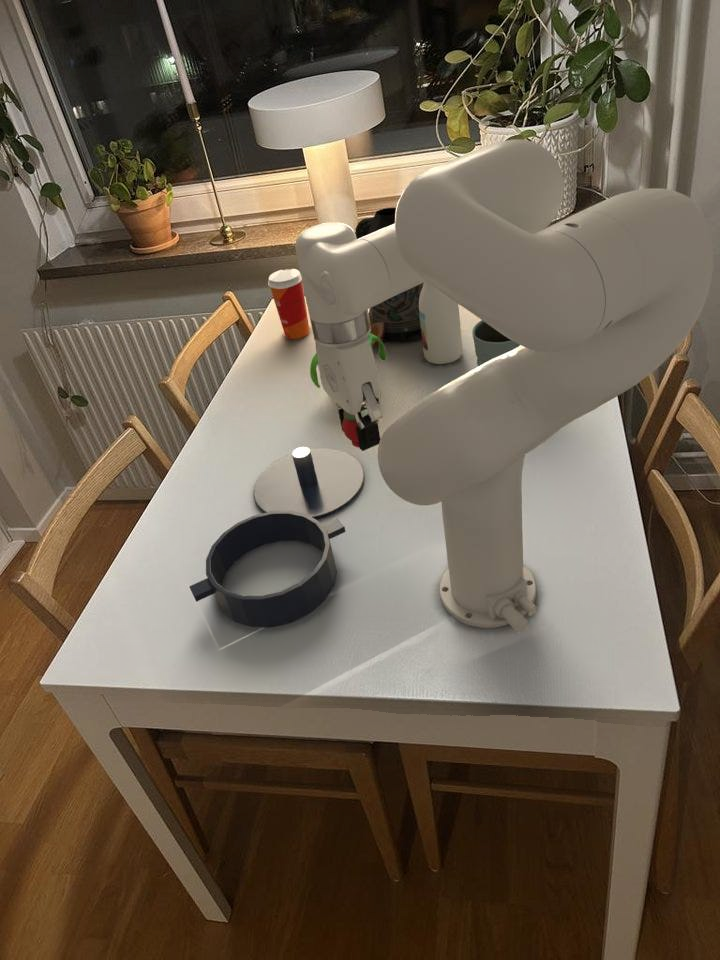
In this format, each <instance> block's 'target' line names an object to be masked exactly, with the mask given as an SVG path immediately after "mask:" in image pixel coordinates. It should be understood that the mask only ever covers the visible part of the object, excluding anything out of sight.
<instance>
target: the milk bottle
mask: <svg viewBox="0 0 720 960" xmlns="http://www.w3.org/2000/svg"><path fill="white" fill-rule="evenodd" d="M459 306H460V305H459V304H458V303H457V302H455V301H454V300H452V299H451V298H449V297H448V296H446V295H445V294H444V293H442V292H441V291H440V290H438V289H437V288H436V287H434V286H433V285H432V284H430V283H429V282H428V281H425V282H424V284H423V288H422V290H421V293H420V297H419V315H420V325H421V334H422V339H421V342H422V350H423V351H422V352H423V356H424V359H425V360H426V361H427V362H429V363H431V364H433V365H434V364H435V365H446V364H449V363H453V362H455V361H457V360H458V359H460V358H461V356H462V354H463V343H462V342H463V341H462V331H461V329H462V328H461V317H460V307H459Z"/></svg>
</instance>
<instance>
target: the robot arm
mask: <svg viewBox="0 0 720 960" xmlns="http://www.w3.org/2000/svg"><path fill="white" fill-rule="evenodd" d="M564 179H565V178H564V173H563V171H562V168H561V166H560V164H559V162H558V160H557V159H556V158H555V156H554V155H553V153H551V152H550V151H549V150H548V149H547V148H546V147H544V146H543V145H542V144H538V143H537V142H534V141H530V140H526V139H508V140H502V141H497V142H493V143H491V144H488V145H486V146H483V147H480V148H478V149H476V150H473V151H471V152H469V153H466V154H464V155H461V156H459V157H456V158H454V159H452V160H449V161H447V162H444V163H442V164H441V163H440V164H439V165H437V166H434V167H431V168H429V169H426V170H425V171H423V172H422V173H420V174H418V175H416V177H414V178H413V179H412V180H411V181H410V182H409V183H408V184H407V186H406V187H405V188H404V189H403V191H402V192H401V195H400V197H399V199H398V201H397V205H396V207H395V208H396V213H395V224H393V225H390V226H388V227H385V228H383V229H380V230H378V231H376V232H373V233H371V234H369V235H367V236H364V237H362V238H360V239H357V238H356V235H355V232H356V231H354V229H353V228H352V227H351V226H349V225H348V224H346V223H343V222H323V223H318V224H315V225H312V226H310V227H307V228H305V229H304V230H302V231H301V232H300V233H299V234H298V235H297V237H296V240H295V245H294V246H295V247H294V248H295V254H296V255H295V256H296V259H297V264H298V268H299V272H300V274H301V278H302V285H303V291H304V298H305V303H306V308H307V311H308V316H309V320H310V326H311V331H312V335H313V340H314V342H315V351H316V353H317V359H318V365H317V367H318V370H319V376H320V383H321V386H322V389H323V390H324V392H325V393H326V395H328V396H329V397H330V398H331V400H333V401H334V402H335V405H336V407H337V412H338V417H339V422H340V427H341V431H342V432H343V428H342V424H343V420H344V415H343V412H344V410H345V411H346V412H347V413H349V414H351V415H354V414H355V417H356V421H357V424H358V426H356V433H357V438H358V443H359V448H358V449H359V450H360V451H362V452H364V451H367V450H369V449H371V448H373V447H375V446H378V447H377V464H378V469H379V472H380V475H381V476H382V479H383V480H384V483H385V484H386V485H387V487H388V488H389V489H390V490H391V491H392V493H394V495H396V496H397V497H399V498H400V499H402V500H403V501H404V502H407V503H410V504H411V505H417V506H422V507H423V506H433V505H436V504H438V503H441V514H442V522H443V531H444V539H445V540H444V541H445V549H446V558H447V566H448V568H447V569H446V570H445V571H444V573H443V575H442V576H441V578H440V582H439V599H440V601H441V603H442V607H444V609H445V610H446V611H447V613H449V615H450V616H451V617H452V618H454V619H455V620H457V621H458V622H460V623H463V624H465V625H467V626H471V627H475V628H482V629H483V628H484V629H491V628H493V629H494V628H501V627H504V626H508V625H510V627H512V629H513V630H514V631H515V632H516V633H517V634H520V633H523V632H525V631H526V630H527V629H528V627H529V626H530V621H529V620H528V619H527V618H526V617H525V615H528V616H530V617H531V616H534V615H535V614H536V613H537V612H538V606H536V605H535V604H534V603H535V600H536V597H537V583H536V581H535V576H534V575H533V573H532V571H531V570H529V569H530V568H528V567H527V566H526V565H525V564H524V541H523V540H524V536H523V469H524V468H523V467H524V463H525V457H526V455H527V454H529V453H531V452H532V451H534V450H535V449H536V448H537V447H539V446H541V445H542V444H544V443H545V442H546V441H547V440H549V439H550V438H551V437H553V435H555V434H556V433H557V432H558V431H560V430H561V429H563V428H564V427H566V426H567V425H569V424H570V423H572V422H574V421H575V420H578V419H579V418H581V417H583V416H585V415H588V414H589V413H591V412H593V411H595V410H596V409H598V408H599V407H601V406H603V405H605V404H606V403H608V402H610V401H612V400H613V399H615V398H617V397H618V396H620V395H622V394H623V393H625V392H627V391H629V390H630V389H632V388H633V387H635V386H636V385H638V384H639V383H641V382H642V381H644V380H645V379H646V378H648V376H651V374H652V373H654V372H655V371H656V370H657V369H658V368H659V367H660V366H662V365H663V364H664V363H665V362H666V361H667V360H668V359H669V358H670V357H671V356H672V354H674V352H676V350H677V349H678V348H679V347H680V346H681V344H682V343H683V342H684V341H685V339H686V338H687V337H688V336H689V334H690V332H691V331H692V330H693V328H694V326H695V324H696V322H697V321H698V319H699V317H700V315H701V313H702V311H703V309H704V306H705V304H706V301H707V299H708V296H709V291H710V288H711V285H712V280H713V279H712V278H713V274H714V273H713V272H714V242H713V236H712V233H711V228H710V224H709V222H708V220H707V217H706V216H705V213H704V212H703V210H702V209H701V207H700V206H699V205H698V204H697V203H696V202H695V201H694V200H693V199H692V198H691V197H689V196H688V195H685V194H683V193H681V192H678V191H676V190H672V189H669V188H668V189H667V188H663V187H662V188H659V187H658V188H657V187H656V188H655V187H654V188H652V187H651V188H649V187H648V188H641V189H636V190H630V191H626V192H622V193H619V194H617V195H614V196H611V197H608V198H607V199H604V200H602V201H600V202H598V203H595V204H594V205H591V206H589V207H587V208H584V209H583V210H581V211H578V212H576V213H574V214H572V215H569V216H568V217H566V218H564V219H562V220H559V221H557V222H556V223H553V224H551V223H552V222H553V221H554V220H555V218H556V217H557V214H558V213H559V210H560V209H561V205H562V202H563V200H564V192H565V180H564ZM425 281H428V282H429V283H430V284H432V285H433V286H434V287H436V288H437V289H438V290H440V291H441V292H442V293H444V294H445V295H446V296H448V297H449V298H451V299H452V300H454V301H455V302H457V303H458V306H461V307H463V309H466V310H467V311H468V312H470V313H471V314H473V315H474V316H476V317H477V318H478V319H480V321H481V320H483V321H484V322H485V323H487V324H488V325H490V326H491V327H493V328H494V329H495V330H497V331H498V332H500V333H501V334H503V335H504V336H506V337H507V338H509V339H510V340H512V341H514V342H516V343H517V344H519V345H520V346H519V347H517V348H515V349H513V350H511V351H509V352H507V353H505V354H502V355H500V356H498V357H496V358H493V359H491V360H489V361H487V362H486V363H484V364H482V365H480V366H478V365H477V366H476V367H475V368H473V369H471V370H469V371H468V372H465V373H464V374H462V375H460V376H458V377H456V378H455V379H453V380H452V381H450V382H448V383H445V384H444V385H443V386H441V387H439V388H438V389H436V390H435V391H433V392H431V393H430V394H428V395H427V396H425V397H424V398H423V399H421V400H420V401H419V402H417V404H415V405H414V406H413V407H412V408H410V409H409V410H407V411H406V412H405V413H403V414H402V415H401V416H400V417H399V418H398V419H396V420H395V421H394V422H392V423H391V424H390V425H389V426H388V427H387V428H386V429H385V430H384V432H383V433H382V434H380V428H379V421H380V420H381V419H383V413H382V411H381V409H380V406H379V405H380V403H381V401H382V395H381V394H382V393H381V392H382V391H381V385H380V379H379V374H378V370H377V364H376V361H375V356H374V353H373V348H371V344H370V341H369V337H368V335H369V334H370V332H371V326H370V320H369V314H368V313H369V309H370V308H371V307H373V306H376V305H378V304H380V303H382V302H384V301H385V300H387V299H390V298H392V297H394V296H396V295H398V294H400V293H402V292H404V291H406V290H408V289H411V288H413V287H415V286H417V285H419V284H421V283H423V282H425ZM365 409H368V414H367V415H365V416H364V417H363V418H362V415H361V411H363V410H365Z"/></svg>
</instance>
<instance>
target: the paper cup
mask: <svg viewBox="0 0 720 960" xmlns="http://www.w3.org/2000/svg"><path fill="white" fill-rule="evenodd" d="M267 286H268V287H269V288H270V291H271V294H272V298H273V301H274V304H275V308H276V312H277V314H278V317H279V321H280V323H281V328H282V329H283V333H284V336H285V338H286V339H288V340H298V339H303V338H305V337H307V336H308V335H309V333H310V325H309V318H308V313H307V311H308V310H307V303H306V298H305V293H304V288H303V283H302V278H301V274H300V270H298V269H296V268H291V269H290V268H286V269H284V270H283V269H279V270H277V271H274V272H272V273H271V274H270V275H269V276H268V281H267Z"/></svg>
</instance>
